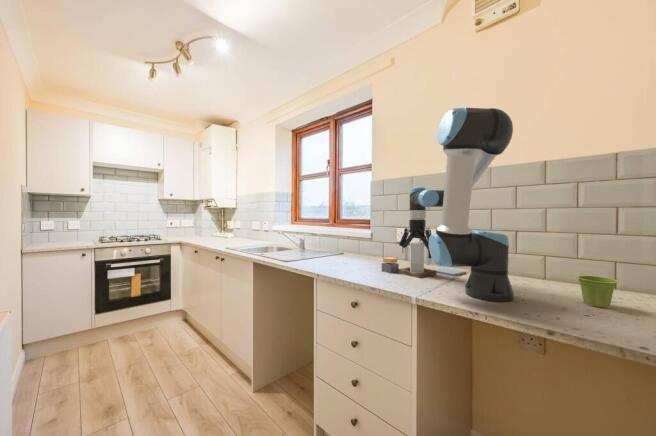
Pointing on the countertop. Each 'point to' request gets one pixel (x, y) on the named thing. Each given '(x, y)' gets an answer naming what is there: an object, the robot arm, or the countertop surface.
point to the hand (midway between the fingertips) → (416, 262)
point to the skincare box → (417, 257)
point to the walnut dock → (426, 273)
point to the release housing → (390, 267)
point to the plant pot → (597, 290)
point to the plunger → (390, 260)
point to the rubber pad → (450, 271)
